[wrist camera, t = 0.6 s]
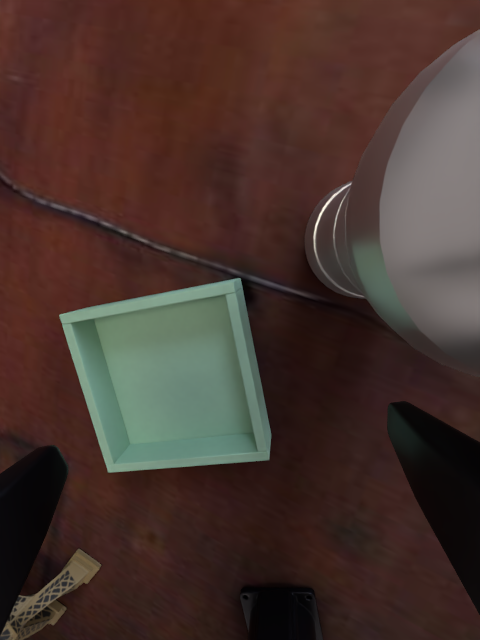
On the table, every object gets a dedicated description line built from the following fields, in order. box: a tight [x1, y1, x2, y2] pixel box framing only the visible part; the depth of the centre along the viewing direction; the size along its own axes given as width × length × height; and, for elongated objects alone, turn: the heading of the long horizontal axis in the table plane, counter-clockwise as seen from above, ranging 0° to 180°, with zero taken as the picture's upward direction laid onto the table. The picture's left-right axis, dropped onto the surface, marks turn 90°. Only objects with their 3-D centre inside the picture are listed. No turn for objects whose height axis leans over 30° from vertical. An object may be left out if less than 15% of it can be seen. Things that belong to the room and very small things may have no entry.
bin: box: [59, 278, 271, 473], centre depth 22 cm, size 12×12×3 cm
